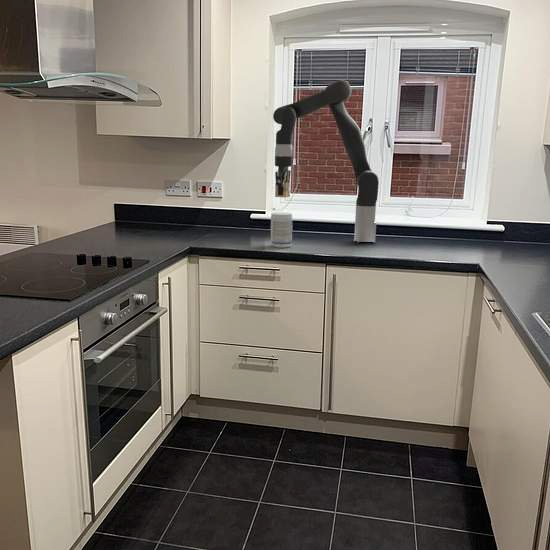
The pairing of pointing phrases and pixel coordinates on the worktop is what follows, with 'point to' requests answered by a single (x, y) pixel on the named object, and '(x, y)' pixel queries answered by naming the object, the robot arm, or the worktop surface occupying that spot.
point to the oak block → (285, 190)
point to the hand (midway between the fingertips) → (282, 194)
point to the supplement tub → (281, 230)
